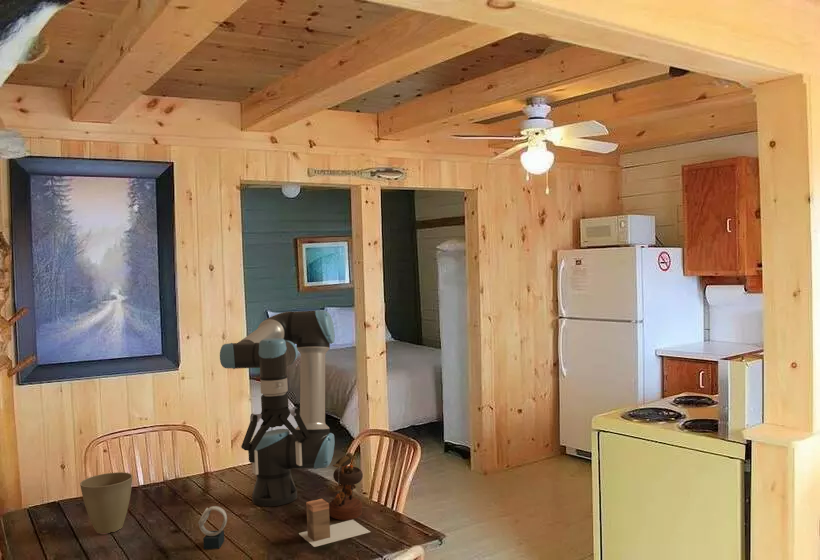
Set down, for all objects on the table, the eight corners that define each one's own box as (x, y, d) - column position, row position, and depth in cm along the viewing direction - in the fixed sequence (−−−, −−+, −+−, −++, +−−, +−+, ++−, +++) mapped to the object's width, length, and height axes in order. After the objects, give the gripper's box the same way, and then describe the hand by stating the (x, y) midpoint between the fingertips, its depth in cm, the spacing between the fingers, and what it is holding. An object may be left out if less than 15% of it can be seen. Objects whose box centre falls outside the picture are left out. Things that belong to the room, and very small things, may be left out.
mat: (298, 534, 203) (298, 533, 203) (352, 520, 212) (352, 519, 212) (314, 547, 192) (314, 546, 192) (370, 532, 202) (370, 531, 202)
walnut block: (307, 535, 200) (306, 502, 200) (323, 531, 203) (321, 498, 203) (314, 541, 196) (312, 507, 196) (330, 537, 199) (328, 503, 198)
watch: (203, 541, 200) (201, 504, 200) (230, 540, 200) (228, 503, 200) (196, 549, 194) (195, 511, 194) (225, 548, 194) (223, 510, 194)
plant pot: (145, 523, 216) (142, 473, 216) (110, 541, 202) (107, 488, 202) (107, 519, 221) (105, 470, 221) (71, 537, 207) (68, 485, 207)
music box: (355, 524, 209) (352, 459, 208) (322, 522, 212) (319, 458, 211) (371, 506, 223) (368, 446, 223) (339, 504, 226) (337, 445, 226)
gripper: (235, 401, 183) (239, 481, 183) (319, 389, 195) (322, 464, 196) (227, 397, 189) (231, 474, 190) (309, 386, 202) (312, 458, 202)
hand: (277, 469), depth 193 cm, fingers open, 12 cm apart
